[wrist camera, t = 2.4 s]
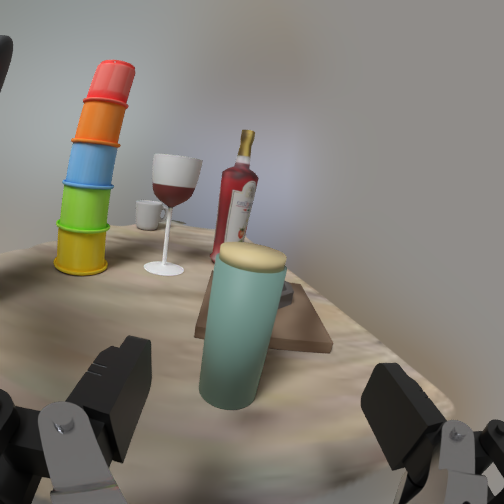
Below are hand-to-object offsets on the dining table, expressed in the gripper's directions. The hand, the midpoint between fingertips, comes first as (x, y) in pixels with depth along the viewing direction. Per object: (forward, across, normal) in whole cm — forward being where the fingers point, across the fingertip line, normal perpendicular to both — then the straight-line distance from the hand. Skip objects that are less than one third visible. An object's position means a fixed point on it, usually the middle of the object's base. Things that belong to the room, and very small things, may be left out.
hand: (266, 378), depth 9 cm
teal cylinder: (+12, 0, +11) cm, 16 cm away
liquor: (+50, +2, +11) cm, 51 cm away
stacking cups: (+34, +27, +11) cm, 44 cm away
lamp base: (+30, -4, +11) cm, 32 cm away
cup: (+72, +26, +10) cm, 78 cm away
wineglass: (+40, +13, +11) cm, 44 cm away
